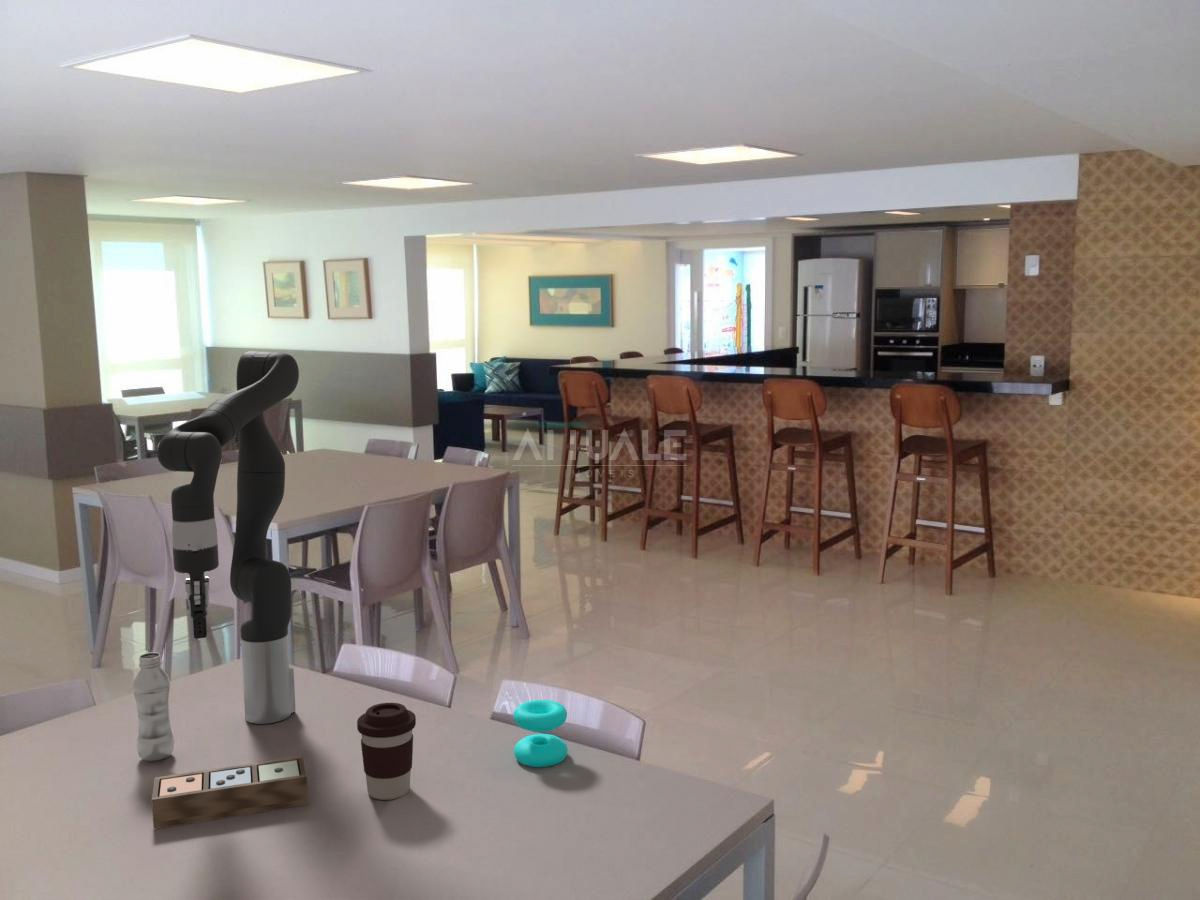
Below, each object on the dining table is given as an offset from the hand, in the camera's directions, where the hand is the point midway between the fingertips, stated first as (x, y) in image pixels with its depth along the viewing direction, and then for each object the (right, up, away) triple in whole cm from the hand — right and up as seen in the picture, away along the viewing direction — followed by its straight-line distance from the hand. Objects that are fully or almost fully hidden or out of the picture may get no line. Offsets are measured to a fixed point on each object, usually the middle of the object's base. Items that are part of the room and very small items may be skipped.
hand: (200, 637), depth 188 cm
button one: (+17, -24, -8) cm, 31 cm away
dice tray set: (+9, -27, -11) cm, 30 cm away
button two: (+2, -25, -14) cm, 29 cm away
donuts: (+61, -24, +7) cm, 66 cm away
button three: (+9, -25, -11) cm, 29 cm away
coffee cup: (+35, -26, -6) cm, 44 cm away
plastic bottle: (-11, -24, +8) cm, 28 cm away
